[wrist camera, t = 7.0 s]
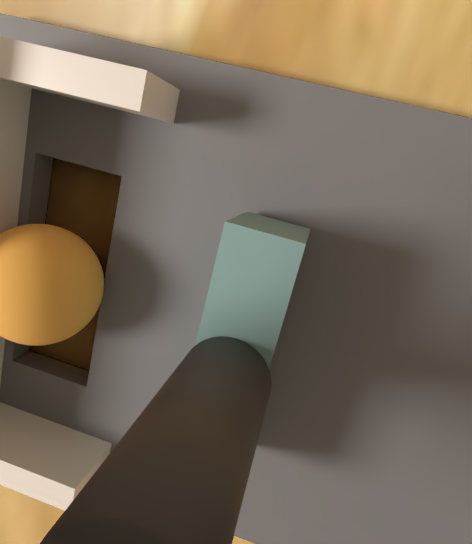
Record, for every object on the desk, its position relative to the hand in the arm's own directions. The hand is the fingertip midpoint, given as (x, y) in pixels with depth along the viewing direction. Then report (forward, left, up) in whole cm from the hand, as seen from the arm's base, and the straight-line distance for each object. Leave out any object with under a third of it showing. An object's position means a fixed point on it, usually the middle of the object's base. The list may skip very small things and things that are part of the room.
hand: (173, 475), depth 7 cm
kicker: (0, 0, -7) cm, 7 cm away
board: (0, 0, -8) cm, 8 cm away
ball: (+7, 0, -6) cm, 9 cm away
